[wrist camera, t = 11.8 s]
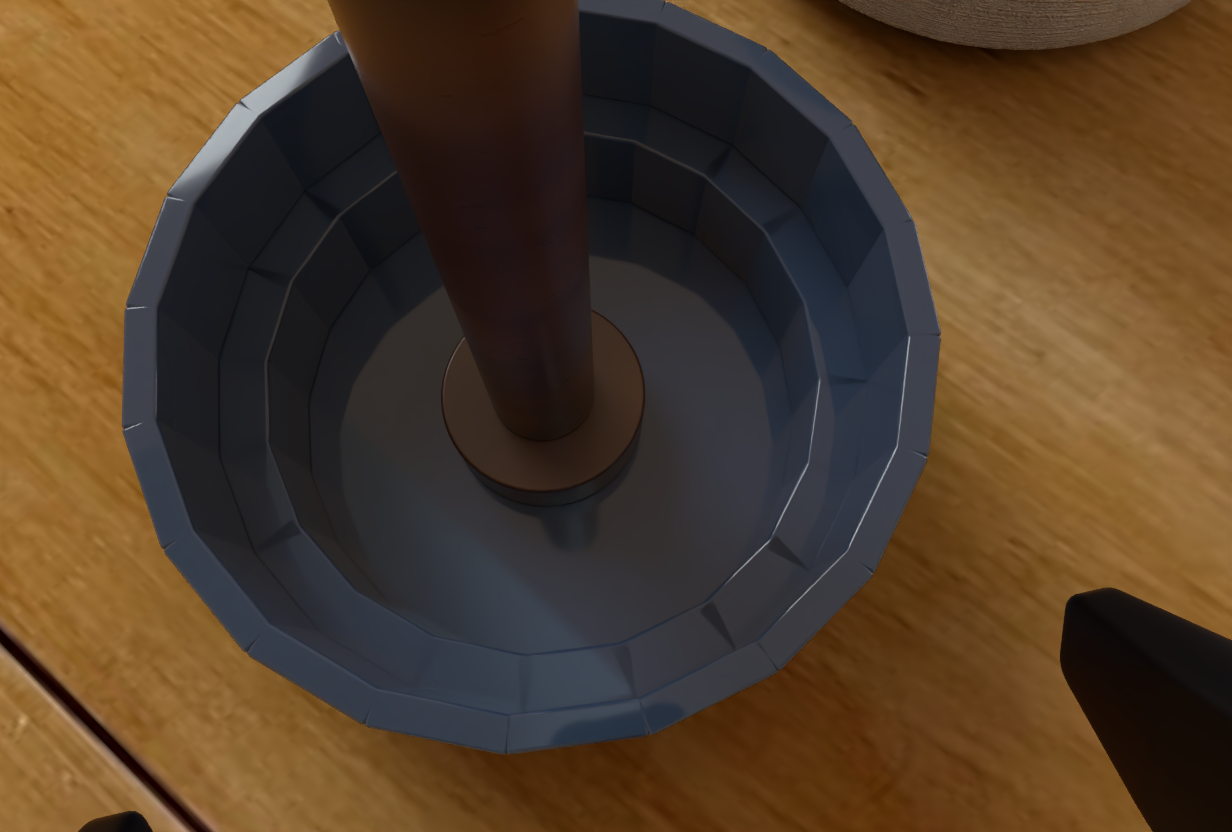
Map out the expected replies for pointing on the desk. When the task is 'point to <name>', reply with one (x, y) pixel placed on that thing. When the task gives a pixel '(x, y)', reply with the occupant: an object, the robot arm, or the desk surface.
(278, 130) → the bowl
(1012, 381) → the desk surface
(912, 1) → the planter
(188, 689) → the desk surface
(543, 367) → the stirring stick
